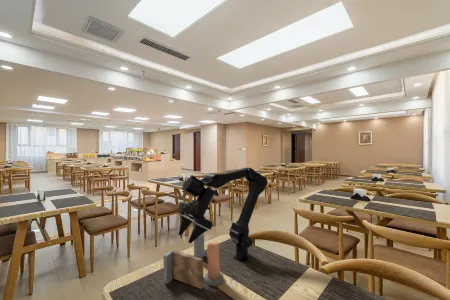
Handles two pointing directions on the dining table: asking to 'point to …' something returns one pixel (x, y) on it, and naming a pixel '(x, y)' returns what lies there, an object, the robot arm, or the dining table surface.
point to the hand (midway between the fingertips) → (184, 238)
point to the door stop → (213, 265)
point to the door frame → (168, 258)
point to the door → (187, 269)
